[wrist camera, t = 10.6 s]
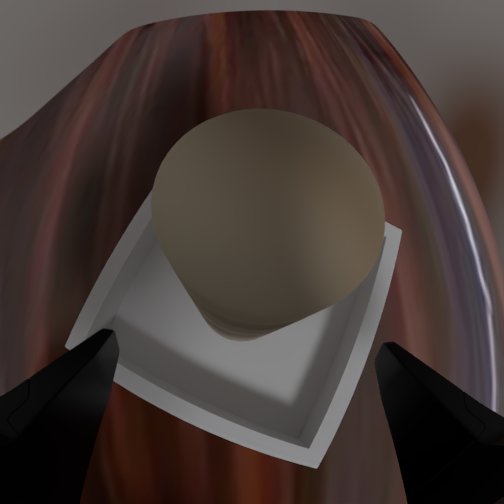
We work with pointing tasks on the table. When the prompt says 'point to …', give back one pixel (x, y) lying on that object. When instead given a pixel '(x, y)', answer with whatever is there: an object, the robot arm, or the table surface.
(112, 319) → the grey bin
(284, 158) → the birch peg
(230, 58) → the table surface
